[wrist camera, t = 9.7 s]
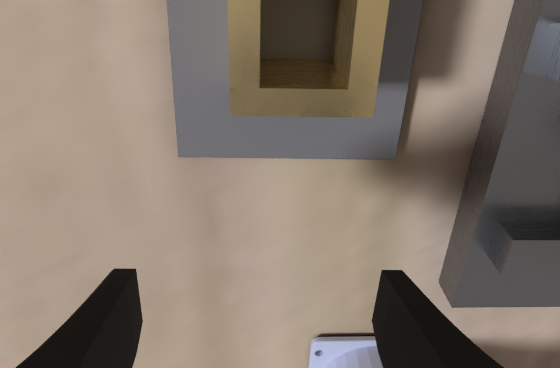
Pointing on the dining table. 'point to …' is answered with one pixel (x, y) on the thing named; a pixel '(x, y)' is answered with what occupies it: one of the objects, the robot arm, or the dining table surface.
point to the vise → (514, 176)
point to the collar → (308, 66)
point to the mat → (282, 44)
